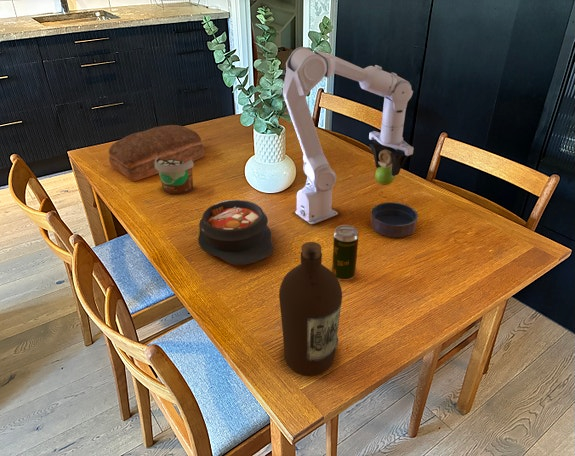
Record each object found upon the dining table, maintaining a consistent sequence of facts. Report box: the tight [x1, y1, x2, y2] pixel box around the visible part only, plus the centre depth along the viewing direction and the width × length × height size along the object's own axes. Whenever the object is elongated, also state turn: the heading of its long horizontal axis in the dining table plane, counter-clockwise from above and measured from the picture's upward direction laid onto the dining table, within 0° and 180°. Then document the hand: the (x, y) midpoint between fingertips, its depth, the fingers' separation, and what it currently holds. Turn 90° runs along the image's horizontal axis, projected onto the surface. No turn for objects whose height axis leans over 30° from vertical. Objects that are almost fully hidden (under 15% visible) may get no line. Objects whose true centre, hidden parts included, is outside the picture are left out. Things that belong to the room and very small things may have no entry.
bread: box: [108, 124, 206, 182], centre depth 156 cm, size 17×29×11 cm, turn 133°
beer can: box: [331, 224, 359, 282], centre depth 102 cm, size 5×5×12 cm
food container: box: [155, 156, 195, 196], centre depth 138 cm, size 12×6×10 cm, turn 76°
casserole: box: [197, 199, 275, 266], centre depth 115 cm, size 25×19×8 cm
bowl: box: [369, 201, 419, 239], centre depth 121 cm, size 12×12×4 cm
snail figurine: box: [374, 149, 396, 186], centre depth 127 cm, size 5×6×12 cm
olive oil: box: [278, 241, 343, 377], centre depth 79 cm, size 11×11×25 cm
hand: (387, 170), depth 128 cm, fingers closed on snail figurine, 6 cm apart
